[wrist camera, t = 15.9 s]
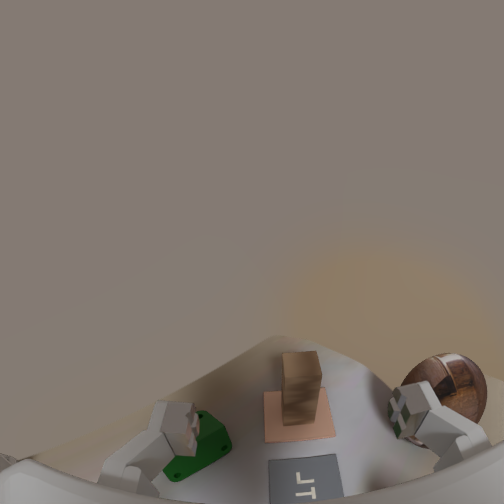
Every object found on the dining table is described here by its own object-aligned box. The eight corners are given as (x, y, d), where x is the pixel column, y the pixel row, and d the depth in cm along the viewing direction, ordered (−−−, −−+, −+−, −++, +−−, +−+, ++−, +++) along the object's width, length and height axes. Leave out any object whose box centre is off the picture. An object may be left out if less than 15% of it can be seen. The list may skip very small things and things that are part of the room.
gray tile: (270, 518, 26) (270, 517, 26) (268, 460, 36) (268, 460, 35) (345, 509, 26) (346, 509, 26) (335, 454, 35) (336, 453, 35)
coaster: (264, 442, 39) (264, 441, 39) (263, 393, 49) (263, 391, 49) (335, 436, 39) (335, 435, 38) (324, 388, 49) (324, 387, 49)
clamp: (209, 449, 42) (212, 406, 42) (229, 467, 37) (234, 423, 38) (143, 462, 34) (140, 416, 35) (158, 485, 30) (156, 437, 30)
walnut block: (283, 426, 41) (285, 377, 37) (281, 403, 46) (282, 353, 42) (314, 423, 41) (322, 374, 37) (310, 401, 46) (316, 350, 41)
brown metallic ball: (432, 387, 44) (458, 323, 38) (477, 437, 30) (519, 375, 25) (369, 416, 41) (390, 351, 36) (411, 481, 28) (455, 426, 22)
